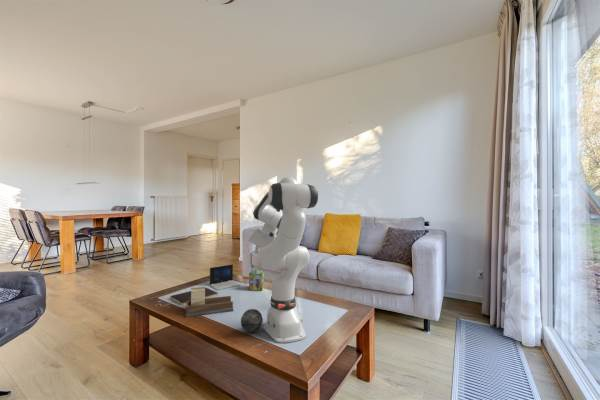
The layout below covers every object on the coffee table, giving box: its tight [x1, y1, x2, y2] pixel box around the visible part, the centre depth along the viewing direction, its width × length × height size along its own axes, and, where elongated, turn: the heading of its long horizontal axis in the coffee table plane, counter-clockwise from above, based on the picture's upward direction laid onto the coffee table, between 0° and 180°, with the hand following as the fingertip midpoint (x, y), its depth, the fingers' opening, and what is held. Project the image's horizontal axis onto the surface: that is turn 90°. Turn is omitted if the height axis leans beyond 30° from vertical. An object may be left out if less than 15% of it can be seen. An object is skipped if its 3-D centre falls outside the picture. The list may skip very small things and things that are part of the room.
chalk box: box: [248, 266, 265, 291], centre depth 187 cm, size 9×9×15 cm
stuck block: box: [190, 286, 206, 306], centre depth 149 cm, size 7×7×10 cm
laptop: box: [209, 263, 241, 291], centre depth 193 cm, size 18×12×13 cm
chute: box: [185, 295, 234, 318], centre depth 151 cm, size 16×24×4 cm, turn 111°
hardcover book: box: [169, 286, 219, 306], centre depth 169 cm, size 16×23×2 cm
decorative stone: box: [240, 308, 264, 333], centre depth 126 cm, size 10×10×10 cm
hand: (256, 254), depth 156 cm, fingers closed
